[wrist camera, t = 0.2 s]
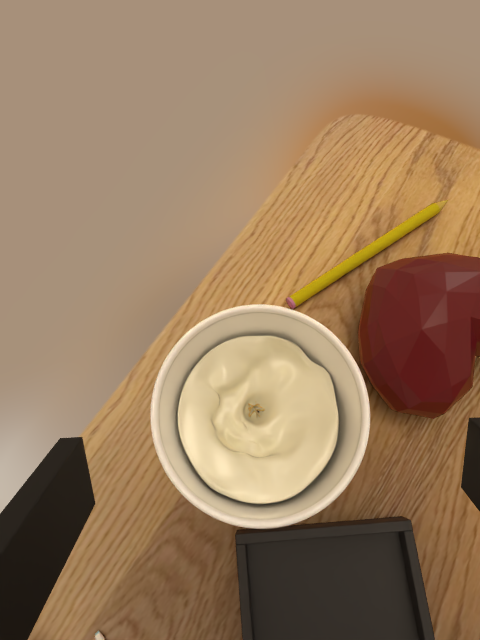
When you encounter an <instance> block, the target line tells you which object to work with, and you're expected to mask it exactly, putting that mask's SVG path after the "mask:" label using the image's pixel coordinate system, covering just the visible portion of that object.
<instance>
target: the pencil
mask: <svg viewBox="0 0 480 640" xmlns="http://www.w3.org/2000/svg"><path fill="white" fill-rule="evenodd" d="M447 201H448V200H445V201H441V202H436V203H432V204H431V205H429V206H428V207H426V208H425V209H423V210H421V211H420V212H418V213H417V214H415V215H414V216H412V217H411V218H409V219H408V220H406V221H405V222H403V223H401V224H400V225H398V226H397V227H395V228H394V229H392V230H391V231H389V232H388V233H386V234H385V235H383V236H382V237H380V238H378V239H377V240H375V241H374V242H372V243H371V244H369V245H368V246H366V247H365V248H363V249H362V250H360V251H359V252H357V253H355V254H354V255H352V256H351V257H349V258H348V259H346V260H345V261H343V262H342V263H340V264H339V265H337V266H336V267H334V268H332V269H331V270H329V271H328V272H326V273H325V274H323V275H322V276H320V277H319V278H317V279H316V280H314V281H313V282H311V283H309V284H308V285H306V286H305V287H303V288H302V289H300V290H299V291H297V292H296V293H294V294H293V295H291V296H290V297H288V298H286V301H287V303H288V305H289V306H290V307H291V308H292V309H294V308H295V307H297V306H298V305H300V304H301V303H303V302H304V301H306V300H307V299H309V298H310V297H312V296H313V295H315V294H317V293H318V292H320V291H321V290H323V289H324V288H326V287H327V286H329V285H330V284H332V283H333V282H335V281H336V280H338V279H339V278H341V277H342V276H344V275H345V274H347V273H348V272H350V271H351V270H353V269H355V268H356V267H358V266H359V265H361V264H362V263H364V262H365V261H367V260H368V259H370V258H371V257H373V256H374V255H376V254H377V253H379V252H380V251H382V250H383V249H385V248H386V247H388V246H389V245H391V244H392V243H394V242H396V241H397V240H399V239H400V238H402V237H403V236H405V235H406V234H408V233H409V232H411V231H412V230H414V229H415V228H417V227H418V226H420V225H421V224H423V223H424V222H426V221H427V220H429V219H430V218H432V217H434V216H435V215H437V214H438V213H439V212H440V211H441V210H442V208H443V207H444V205H445V204H446V203H447Z"/></svg>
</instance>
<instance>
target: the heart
mask: <svg viewBox="0 0 480 640" xmlns="http://www.w3.org/2000/svg"><path fill="white" fill-rule="evenodd" d="M358 337H359V355H360V363H361V365H362V367H363V369H364V371H365V373H366V375H367V377H368V379H369V380H370V382H371V384H372V386H373V387H374V388H375V390H376V391H377V392H378V393H379V395H380V396H381V397H382V398H383V400H384V401H385V402H386V403H387V405H388V406H389V407H390V408H391V409H392V410H395V411H397V412H402V413H407V414H413V415H418V416H423V417H428V418H433V419H434V418H436V417H438V416H440V415H443V414H444V413H445V412H446V411H447V410H449V409H450V408H451V407H452V406H453V405H454V404H455V403H456V402H457V401H459V400H460V399H461V398H462V397H463V396H464V395H465V394H466V393H467V392H468V391H469V390H470V389H471V388H472V387H473V376H474V365H475V356H480V258H478V257H469V256H463V255H458V254H452V253H443V254H435V255H428V256H420V257H412V258H405V259H400V260H397V261H395V262H392V263H389V264H387V265H384V266H382V267H379V268H377V269H376V271H375V273H374V275H373V277H372V279H371V281H370V283H369V285H368V287H367V289H366V292H365V297H364V302H363V307H362V312H361V317H360V322H359V327H358Z"/></svg>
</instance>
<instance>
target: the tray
mask: <svg viewBox="0 0 480 640" xmlns="http://www.w3.org/2000/svg"><path fill="white" fill-rule="evenodd" d="M412 530H413V528H412V524H411V520H409V519H407V518H404V517H389V518H377V519H365V520H353V521H340V522H328V523H316V524H304V525H291V526H284V527H279V528H270V529H242V530H237V532H236V535H235V537H236V551H237V566H238V580H239V594H240V609H241V623H242V637H243V640H435V638H434V633H433V628H432V623H431V618H430V613H429V608H428V603H427V598H426V593H425V588H424V583H423V578H422V573H421V569H420V564H419V559H418V554H417V549H416V544H415V539H414V534H413V531H412Z"/></svg>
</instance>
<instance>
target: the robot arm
mask: <svg viewBox="0 0 480 640" xmlns="http://www.w3.org/2000/svg"><path fill="white" fill-rule="evenodd" d="M461 488H462V489H463V490H464V492H465V493H466V494H467V495H468V497H469V498H470V499H471V501H472V502H473V503H474V504H475V506H476V507H477V508H478V510H479V511H480V418H469V422H468V431H467V440H466V449H465V457H464V466H463V475H462V484H461ZM94 505H95V500H94V494H93V489H92V484H91V479H90V474H89V469H88V464H87V459H86V454H85V449H84V444H83V439H82V437H75V438H60V439H59V440H58V442H57V443H56V444H55V445H54V447H53V448H52V449H51V450H50V452H49V453H48V454H47V456H46V457H45V458H44V459H43V461H42V462H41V463H40V464H39V466H38V467H37V468H36V469H35V471H34V472H33V473H32V474H31V476H30V477H29V478H28V479H27V481H26V482H25V483H24V485H23V486H22V487H21V489H20V490H19V491H18V492H17V493H16V495H15V496H14V497H13V499H12V500H11V501H10V502H9V504H8V505H7V506H6V507H5V509H4V510H3V511H2V512H1V514H0V640H27V639H28V637H29V635H30V633H31V631H32V629H33V627H34V625H35V623H36V621H37V619H38V617H39V615H40V613H41V611H42V609H43V607H44V605H45V603H46V601H47V599H48V597H49V595H50V593H51V591H52V589H53V587H54V585H55V583H56V581H57V579H58V577H59V575H60V573H61V571H62V569H63V567H64V565H65V563H66V561H67V559H68V557H69V555H70V553H71V551H72V549H73V547H74V545H75V543H76V541H77V539H78V537H79V535H80V533H81V531H82V529H83V527H84V525H85V523H86V521H87V519H88V517H89V515H90V513H91V511H92V509H93V507H94Z"/></svg>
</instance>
